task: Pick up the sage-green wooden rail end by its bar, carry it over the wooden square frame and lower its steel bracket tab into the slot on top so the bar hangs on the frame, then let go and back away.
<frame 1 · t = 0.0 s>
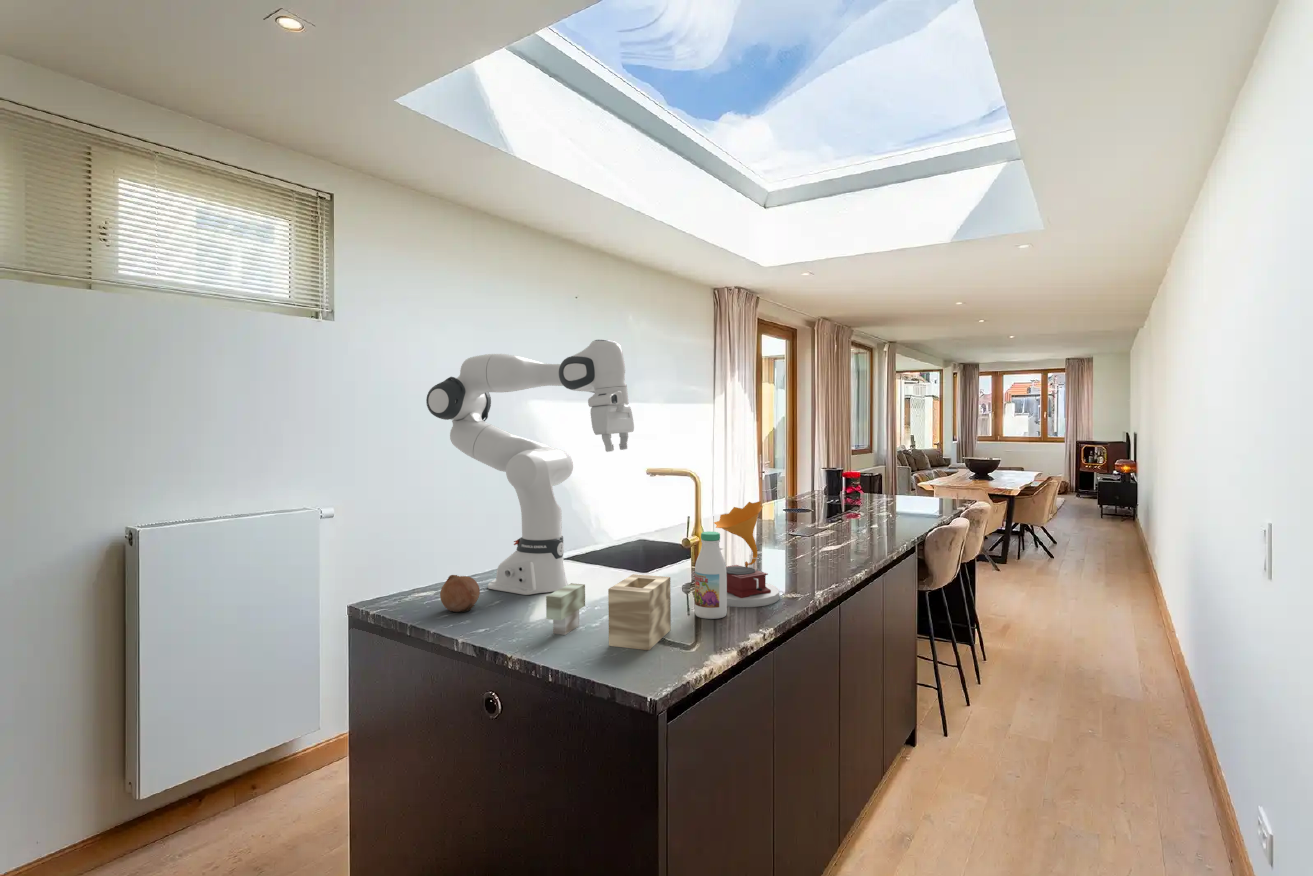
hand: (616, 450, 184), 39 cm above the table, tool pointing down, fingers open, 8 cm apart
wooden square frame: (640, 637, 149), on the table
milk bottle: (710, 615, 165), on the table
rail end: (566, 629, 155), on the table
gramophone: (740, 597, 182), on the table
onion: (460, 611, 171), on the table
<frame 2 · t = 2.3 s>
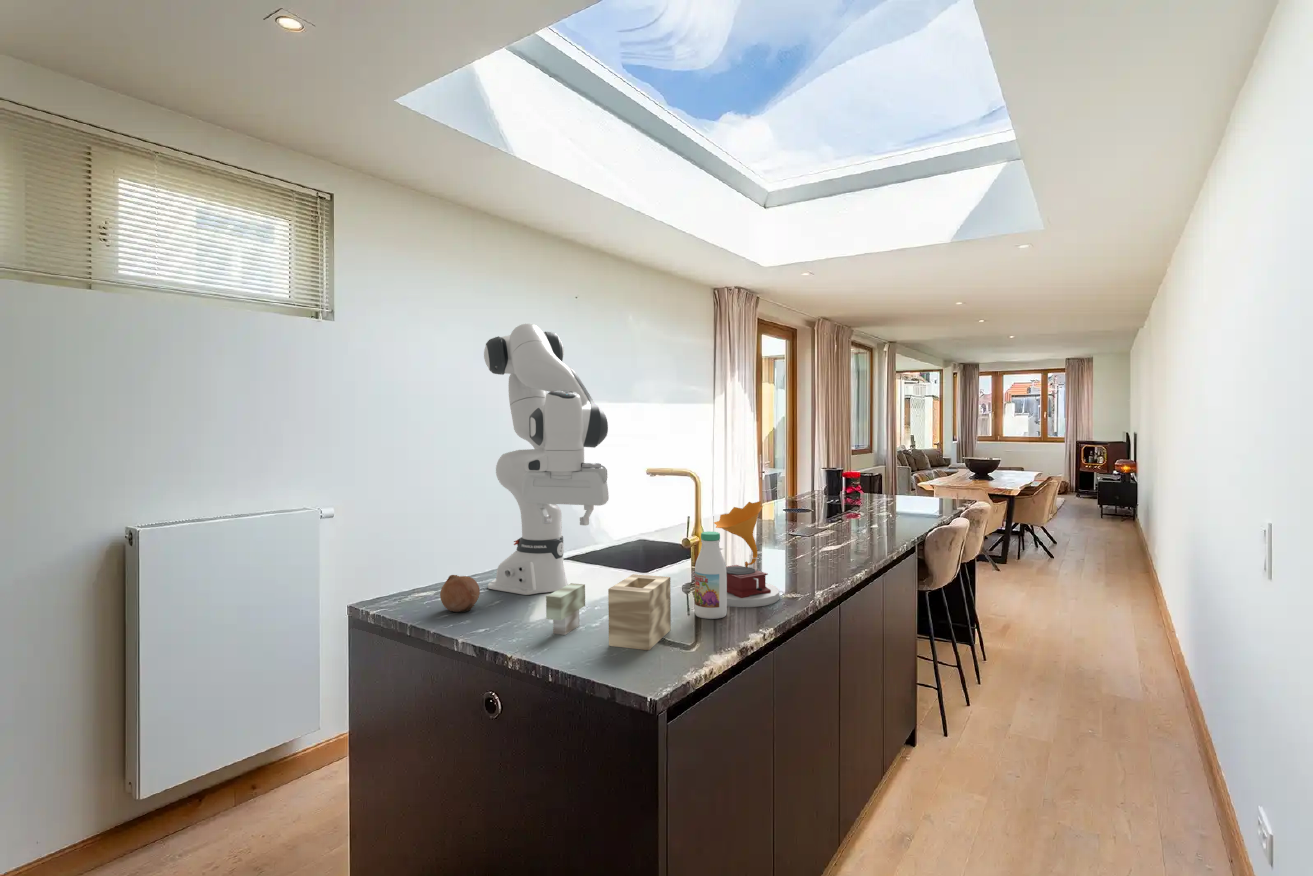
hand: (565, 524, 154), 24 cm above the table, tool pointing down, fingers open, 8 cm apart
nothing on the table moved.
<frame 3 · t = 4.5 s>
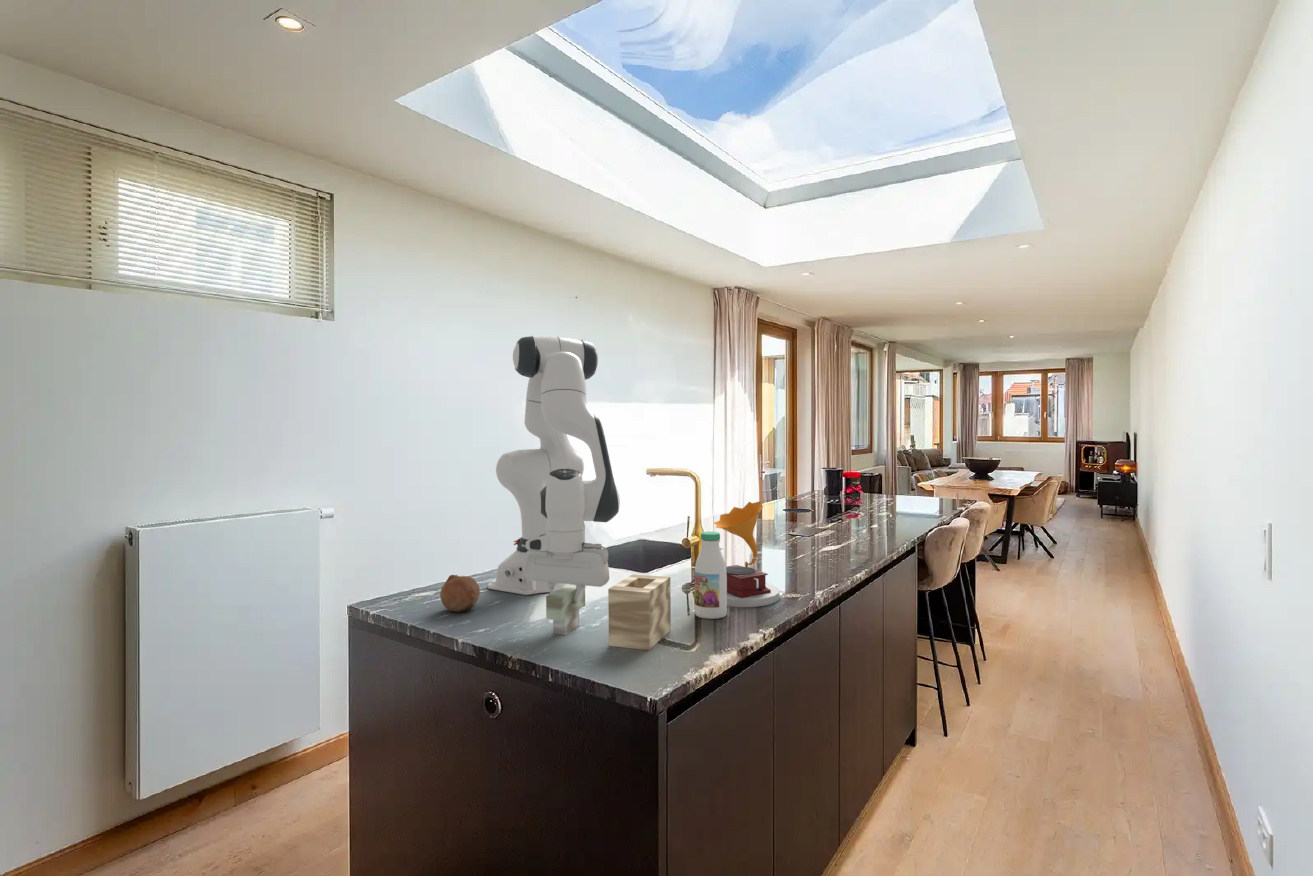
hand: (566, 602, 155), 6 cm above the table, tool pointing down, fingers closed on rail end, 4 cm apart
rail end: (566, 629, 155), on the table, touching gripper
everything else where it was.
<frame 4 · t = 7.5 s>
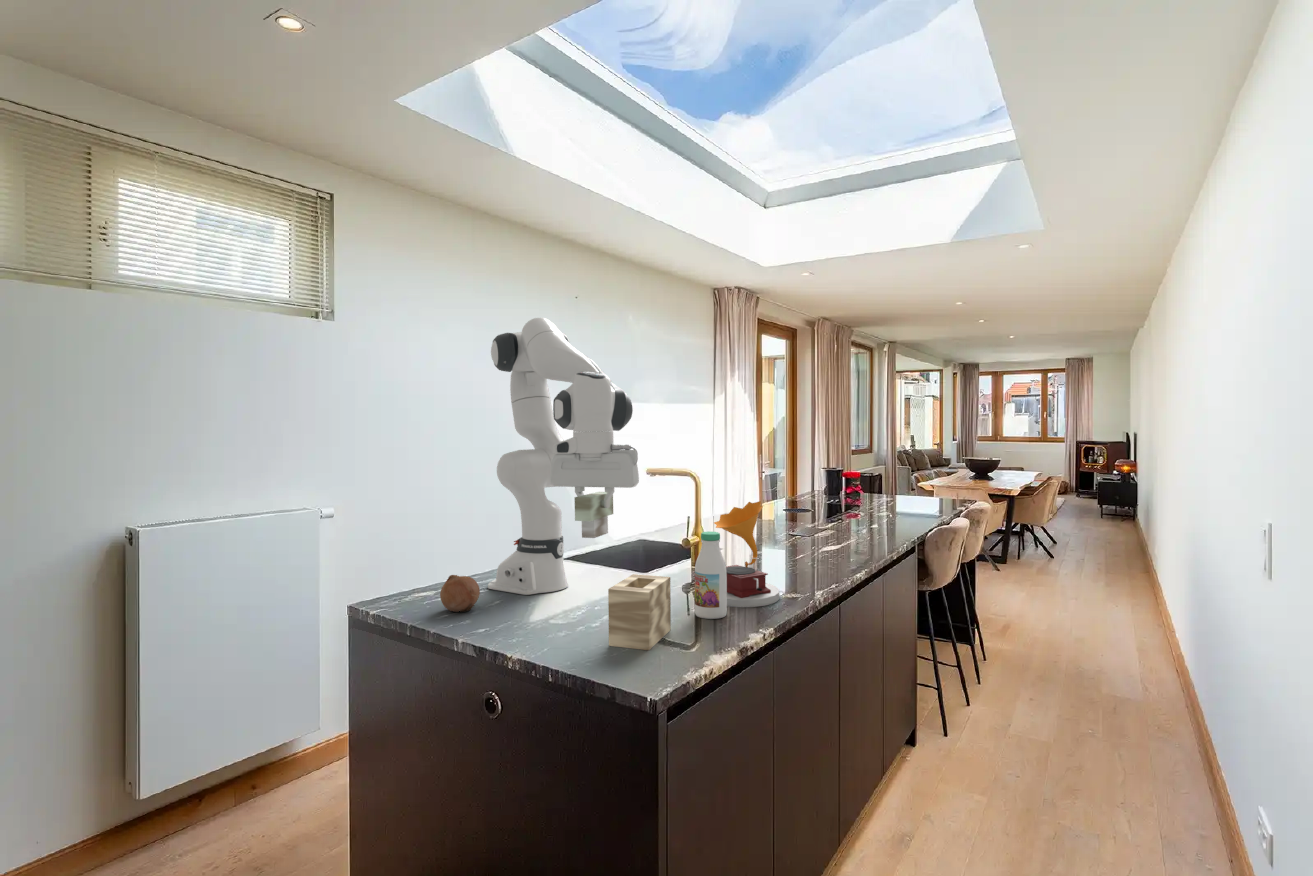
hand: (594, 507, 151), 28 cm above the table, tool pointing down, fingers closed on rail end, 4 cm apart
rail end: (595, 535, 151), point 22 cm above the table, touching gripper
everything else where it was.
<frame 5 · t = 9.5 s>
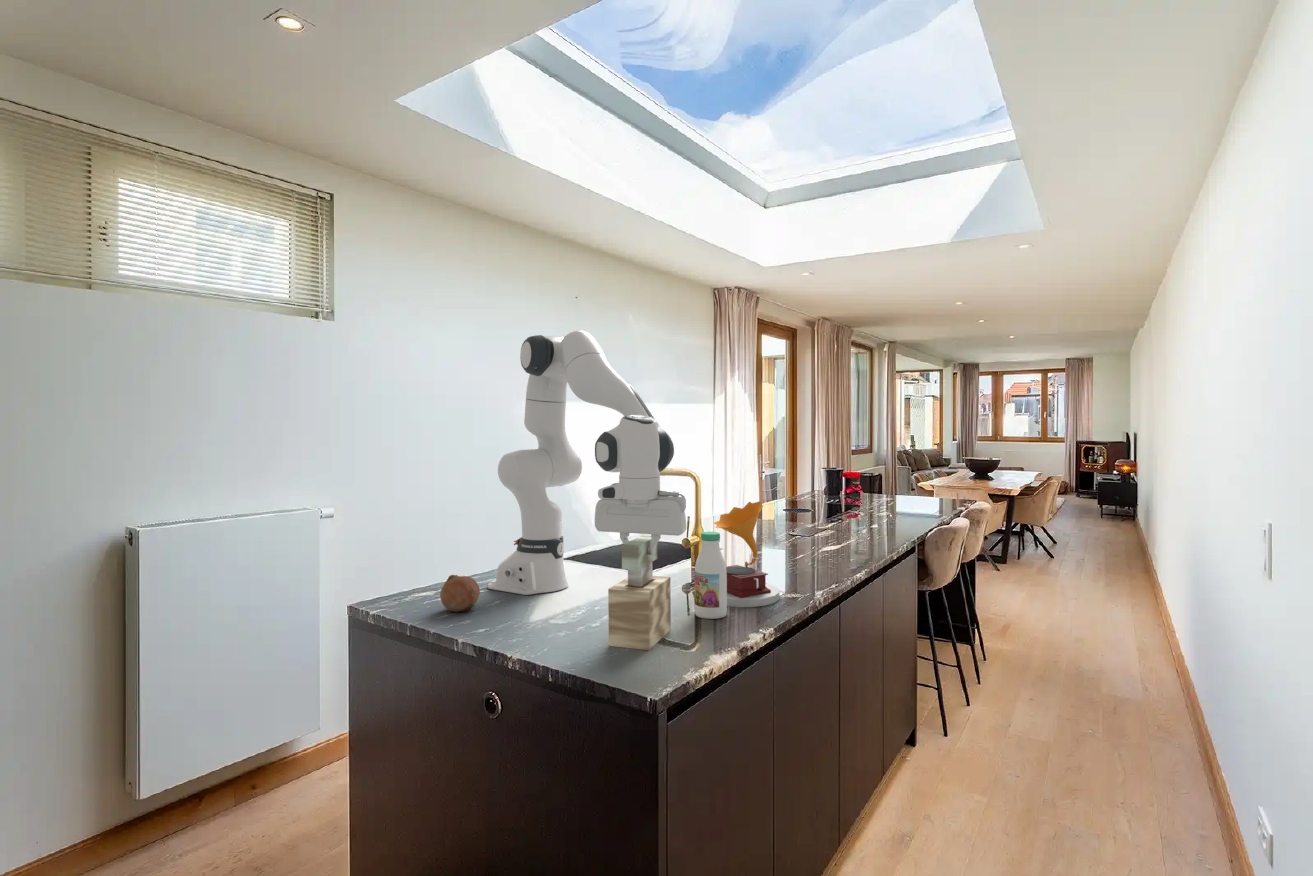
hand: (640, 553, 148), 18 cm above the table, tool pointing down, fingers closed on rail end, 4 cm apart
rail end: (640, 581, 149), point 12 cm above the table, touching gripper
everything else where it was.
when the fingers open (15 cm above the table, at t = 10.9 s): rail end stays where it is, resting on wooden square frame.
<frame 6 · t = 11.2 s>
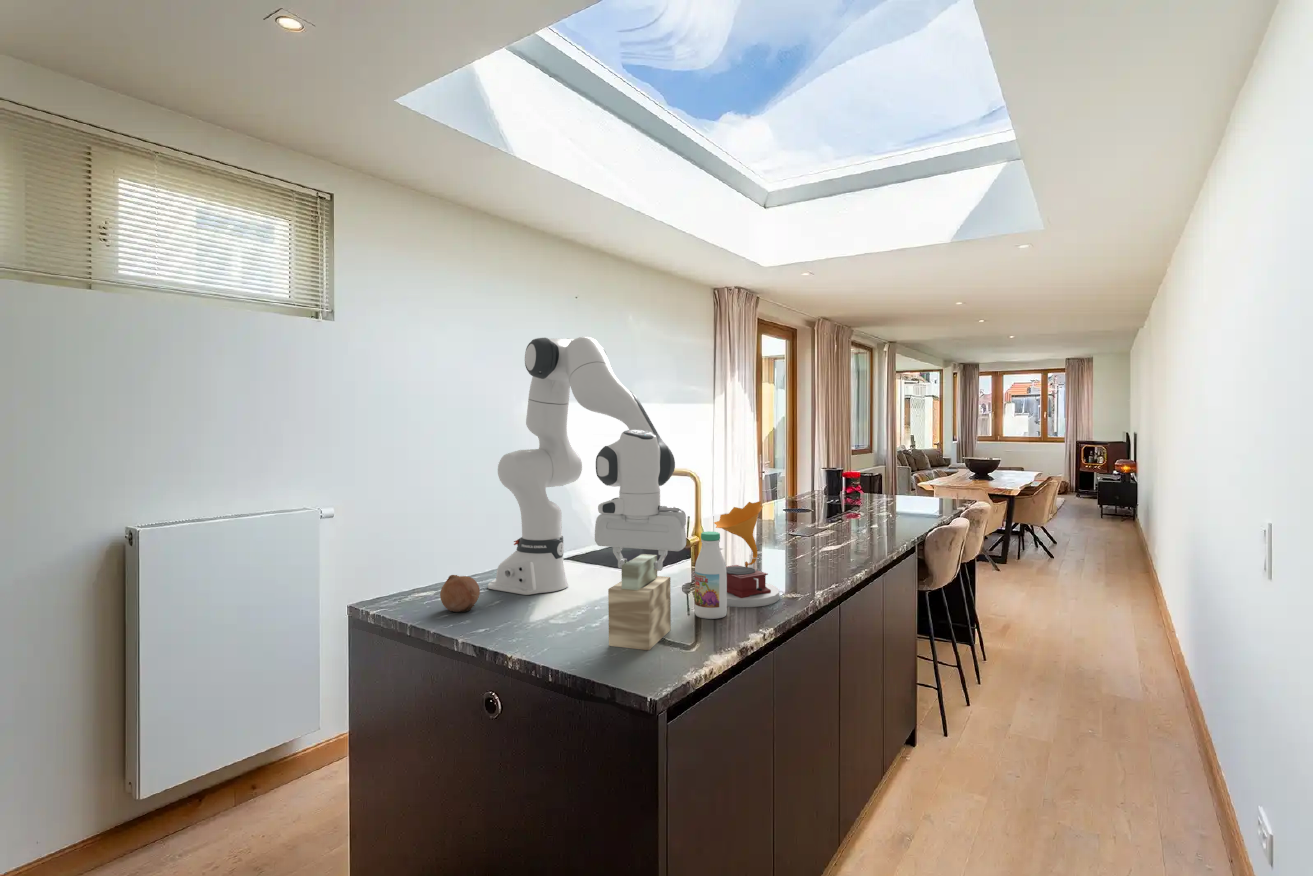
hand: (640, 568, 149), 15 cm above the table, tool pointing down, fingers open, 7 cm apart
rail end: (640, 601, 149), point 8 cm above the table, touching wooden square frame
everything else where it was.
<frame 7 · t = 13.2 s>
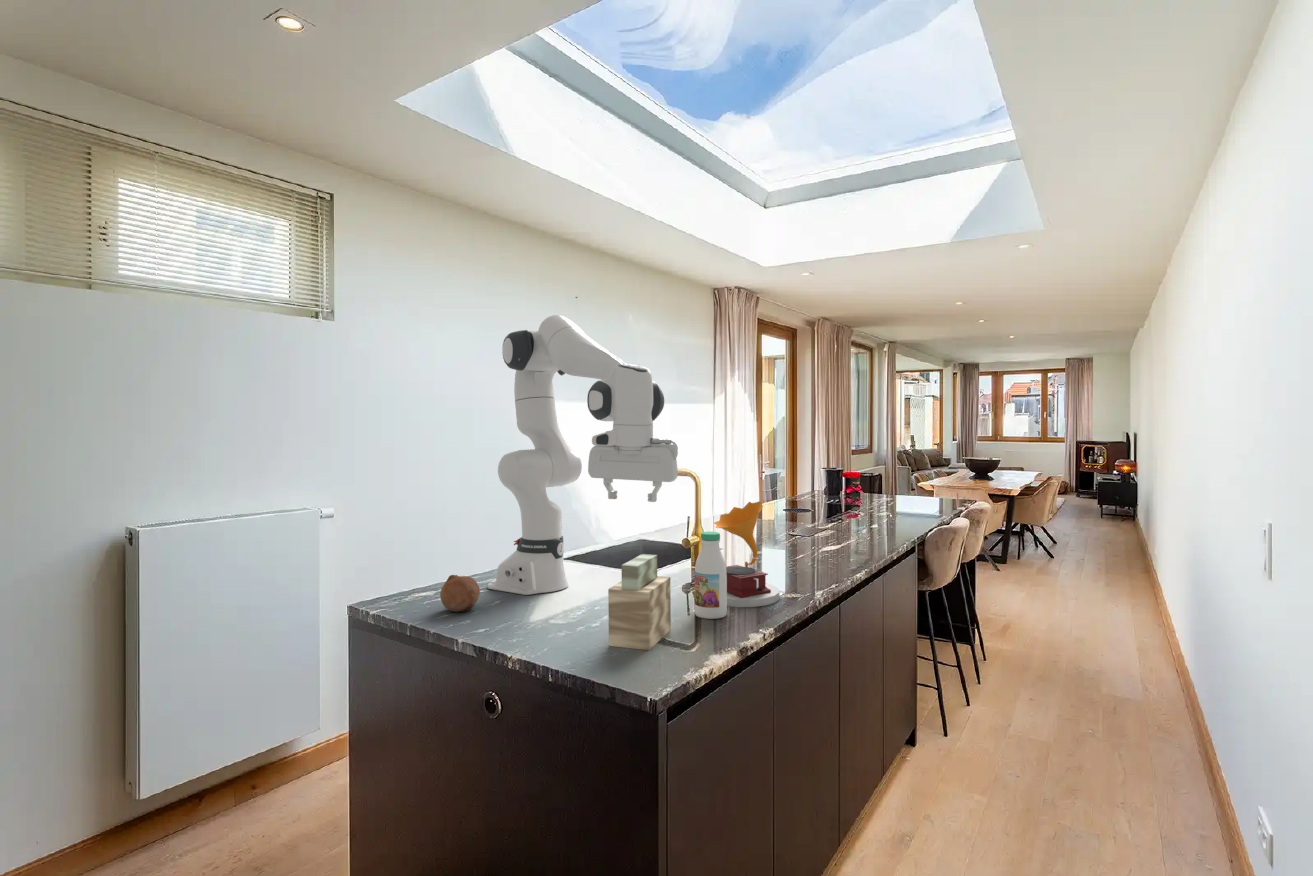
hand: (632, 500, 152), 30 cm above the table, tool pointing down, fingers open, 8 cm apart
nothing on the table moved.
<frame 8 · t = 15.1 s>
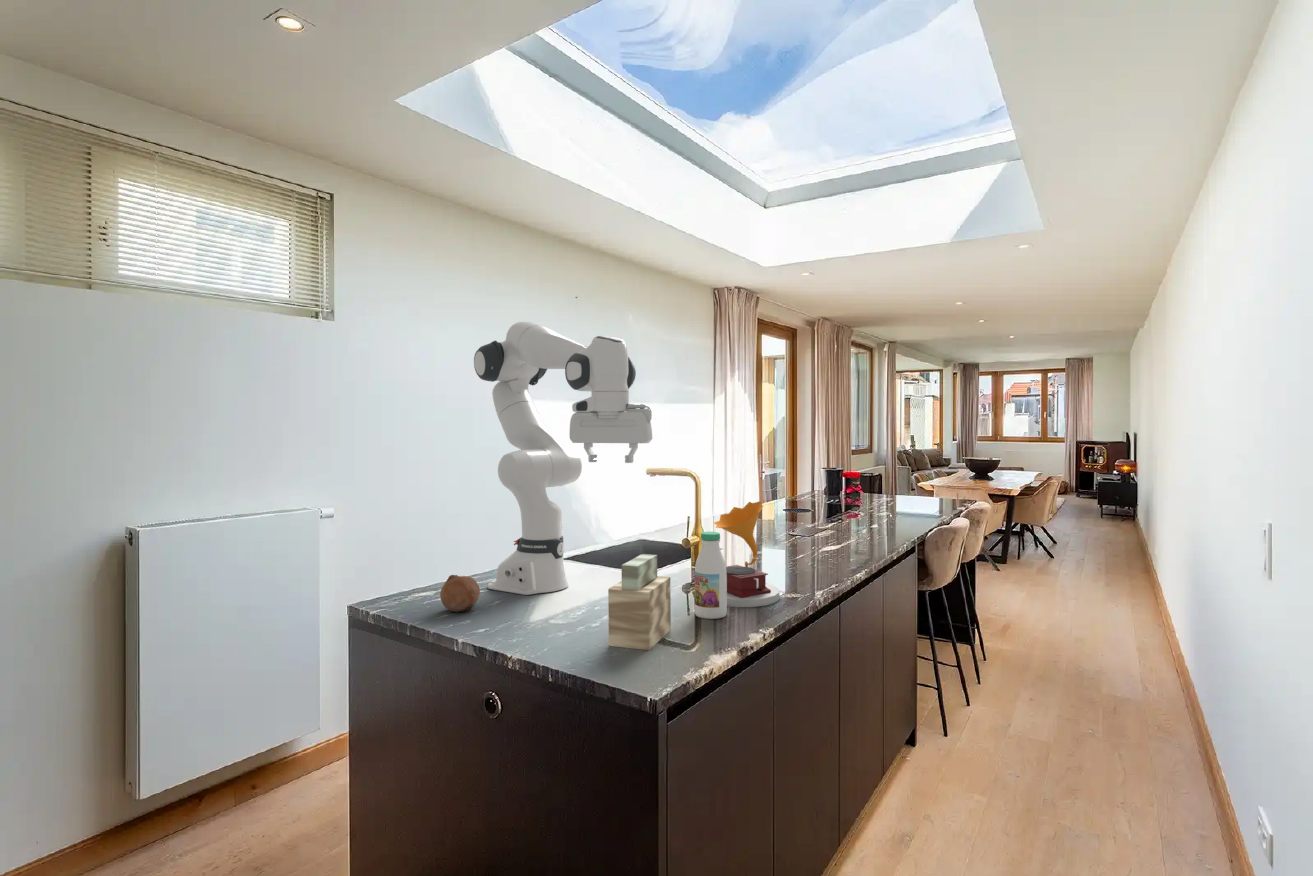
hand: (610, 462, 163), 37 cm above the table, tool pointing down, fingers open, 8 cm apart
nothing on the table moved.
at the end: rail end 0.1 cm off-centre on the wooden square frame, point 8.0 cm above the wooden square frame's base; rail end tilted 0°; the gripper is holding nothing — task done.
